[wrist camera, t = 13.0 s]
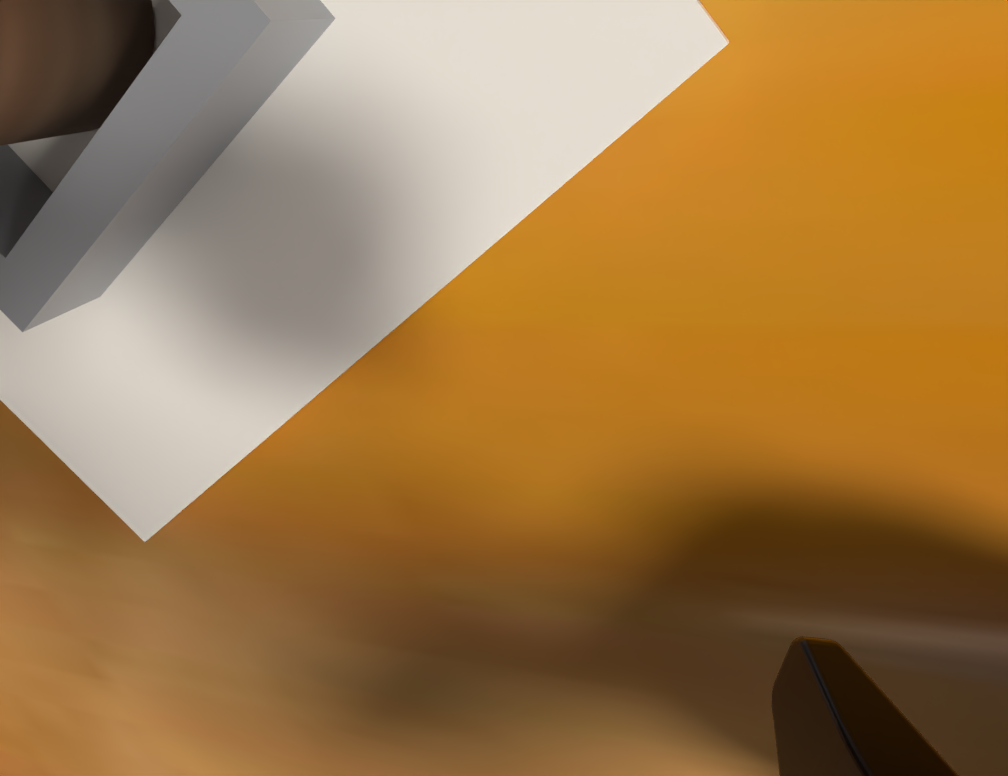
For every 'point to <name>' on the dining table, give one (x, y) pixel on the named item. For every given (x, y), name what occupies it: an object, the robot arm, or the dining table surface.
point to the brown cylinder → (68, 63)
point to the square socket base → (290, 209)
